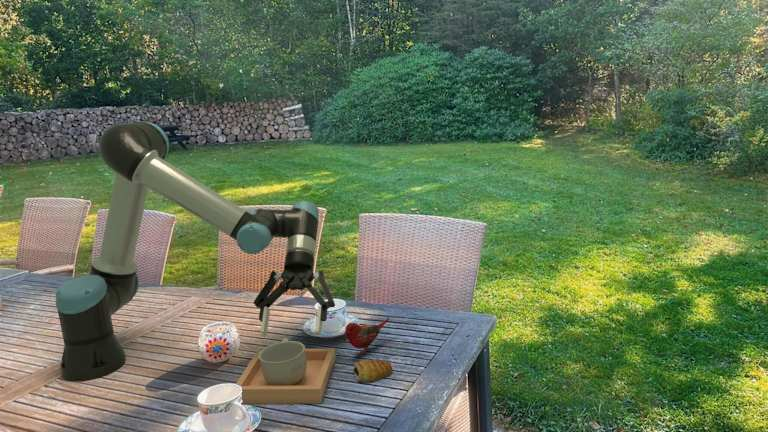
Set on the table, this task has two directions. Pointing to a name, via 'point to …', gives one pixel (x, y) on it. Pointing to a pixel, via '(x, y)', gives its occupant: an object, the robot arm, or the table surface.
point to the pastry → (371, 370)
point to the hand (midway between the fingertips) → (290, 333)
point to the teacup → (283, 363)
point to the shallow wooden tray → (301, 392)
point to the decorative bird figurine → (362, 334)
